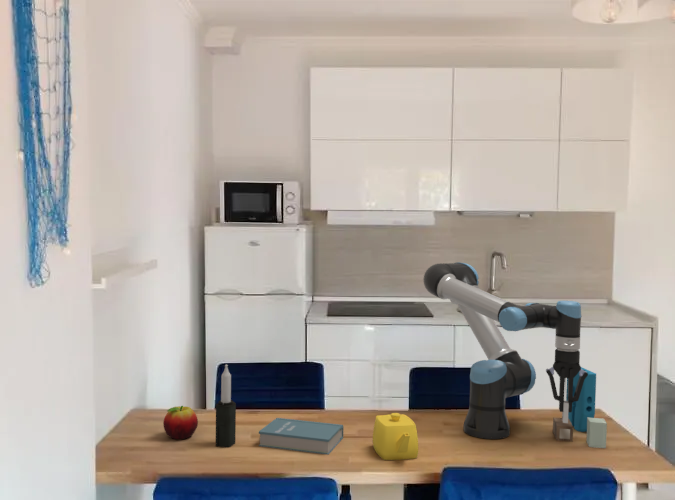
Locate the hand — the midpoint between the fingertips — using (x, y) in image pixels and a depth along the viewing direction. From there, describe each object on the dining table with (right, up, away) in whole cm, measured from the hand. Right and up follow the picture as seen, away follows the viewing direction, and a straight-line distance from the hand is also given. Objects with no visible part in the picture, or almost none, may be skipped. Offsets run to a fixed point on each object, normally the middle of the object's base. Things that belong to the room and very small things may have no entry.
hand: (565, 421), depth 210 cm
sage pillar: (+9, -7, -3) cm, 12 cm away
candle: (-108, -5, -8) cm, 109 cm away
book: (-85, -6, -5) cm, 85 cm away
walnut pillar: (0, -4, +1) cm, 4 cm away
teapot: (-56, -6, -13) cm, 58 cm away
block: (+10, -6, +15) cm, 19 cm away
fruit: (-124, -5, -2) cm, 124 cm away
